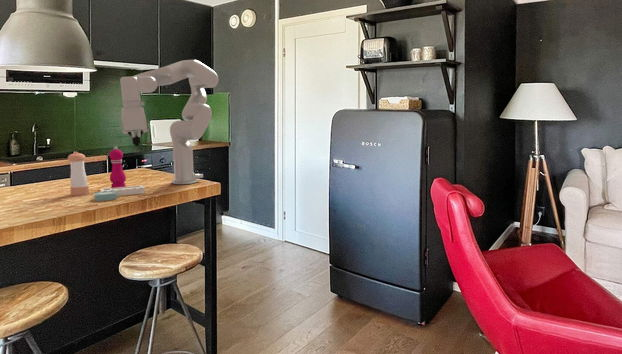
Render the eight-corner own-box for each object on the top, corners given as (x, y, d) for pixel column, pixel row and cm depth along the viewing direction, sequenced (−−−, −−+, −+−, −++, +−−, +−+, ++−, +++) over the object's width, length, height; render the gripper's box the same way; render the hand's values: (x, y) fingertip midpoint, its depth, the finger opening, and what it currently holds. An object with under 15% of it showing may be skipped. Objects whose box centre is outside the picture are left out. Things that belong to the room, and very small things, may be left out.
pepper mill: (120, 189, 210) (117, 147, 207) (107, 188, 211) (103, 146, 208) (129, 186, 217) (126, 145, 214) (116, 185, 218) (113, 145, 215)
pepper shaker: (76, 196, 194) (72, 153, 191) (67, 194, 198) (63, 152, 195) (92, 193, 200) (88, 151, 197) (83, 191, 204) (79, 150, 201)
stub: (115, 196, 194) (114, 190, 193) (116, 199, 189) (116, 193, 188) (94, 198, 190) (94, 192, 189) (95, 201, 185) (95, 195, 184)
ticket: (142, 190, 207) (142, 185, 206) (145, 193, 201) (144, 187, 200) (100, 194, 198) (100, 188, 197) (101, 197, 192) (101, 191, 191)
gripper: (148, 103, 203) (152, 143, 207) (112, 105, 195) (118, 146, 200) (151, 104, 197) (155, 145, 201) (115, 106, 189) (120, 148, 193)
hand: (136, 145), depth 200 cm, fingers closed
